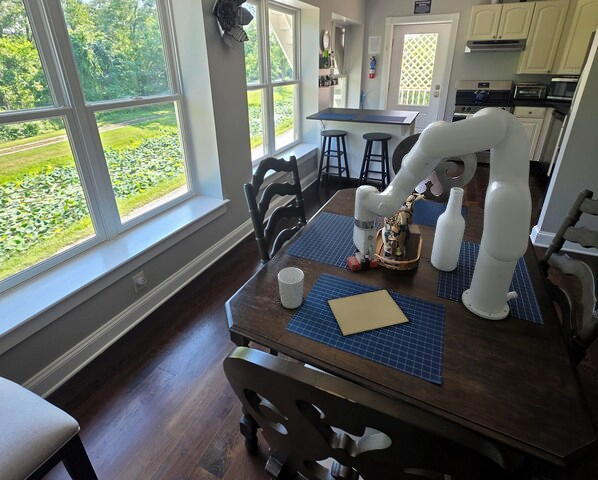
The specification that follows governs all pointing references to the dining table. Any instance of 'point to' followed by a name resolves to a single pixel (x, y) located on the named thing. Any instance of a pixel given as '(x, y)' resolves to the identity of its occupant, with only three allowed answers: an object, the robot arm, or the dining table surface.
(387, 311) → the mat
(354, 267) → the toy car
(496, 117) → the robot arm
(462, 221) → the alcohol
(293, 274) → the white cup
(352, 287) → the dining table surface
